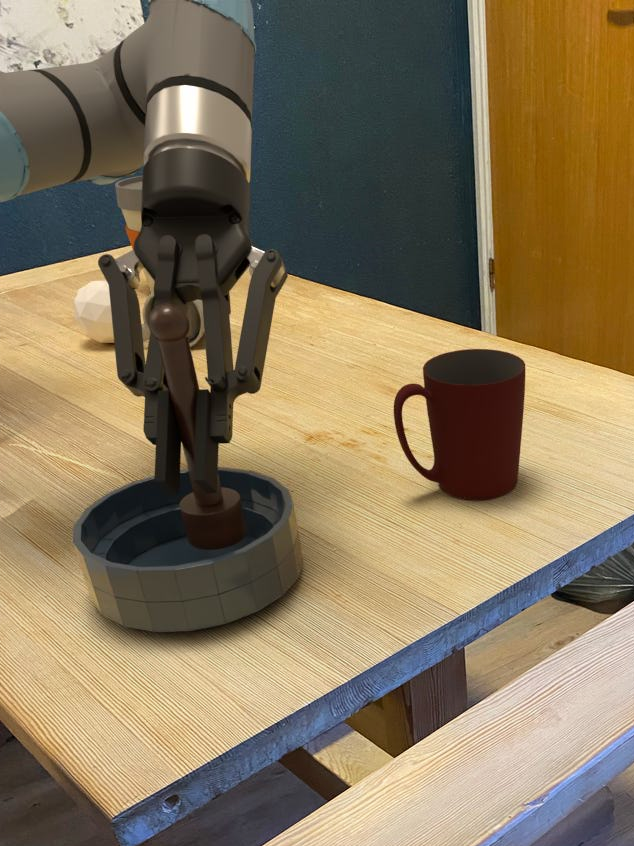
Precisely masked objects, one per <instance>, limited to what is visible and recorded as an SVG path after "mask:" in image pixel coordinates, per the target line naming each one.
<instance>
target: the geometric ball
mask: <svg viewBox="0 0 634 846" xmlns="http://www.w3.org/2000/svg"><path fill="white" fill-rule="evenodd" d="M73 301H74V302H73V310H74V322H75V323H76V324H77V326H78V327H79V328H80V329H81V331H83V333H84V334H85V335H86V337H88V338H90V339H92V340H93V341H94V340H95V341H96V342H97V343H101V344H114V334H113V324H112V314H111V303H110V293H109V285H108V283H107V281H106V280H91V281H90V282H88V283H86V284H85V285H83V286H82V287H80V288H78V290H77V293H76V295H75V298H74V300H73Z"/></svg>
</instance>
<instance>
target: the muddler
mask: <svg viewBox="0 0 634 846" xmlns="http://www.w3.org/2000/svg"><path fill="white" fill-rule="evenodd" d="M149 328H150V331H151V333H152V335H153V336H154V337H155V338H156V339H157V342H158V346H159V350H160V354H161V358H162V363H163V367H164V371H165V375H166V379H167V384H168V388H169V392H170V396H171V400H172V405H173V409H174V413H175V417H176V421H177V425H178V430H179V434H180V438H181V447H182V450H183V454H184V459H185V462H186V467H187V469H188V472H189V476H190V480H191V484H192V488H193V492H192V493H190V494H189V495H187V496H185V497H184V498H183V499H182V500H181V502H180V510H181V514H182V518H183V522H184V526H185V530H186V534H187V538H188V542H189V543H190V544H191V545H192V546H193V547H195V548H198V549H203V550H216V549H222V548H226V547H229V546H232V545H234V544H236V543H238V542H240V541H241V540H242V539H243V538H244V537H245V536H246V533H247V529H246V524H245V519H244V515H243V510H242V505H241V500H240V496H239V494H238V493H237V492H236V491H235V490H233V489H229V488H223V487H221V485H220V481H219V476H218V483H217V493H206V492H205V491H204V490H203V489H202V488H201V487H200V486H199V485H198V484H197V483H196V482H195V481H194V461H195V432H196V403H197V390H200V389H201V388H200V385H199V380H198V376H197V370H196V366H195V362H194V358H193V354H192V349H191V348H192V347H190V344H189V339H188V334H189V331H190V322H189V319H188V316H187V315H186V313H185V312H184V311H183V310H182V309H181V308H180V307H178V306H176V305H174V304H168V303H166V304H161V305H159V306H157V307H155V308H154V309H153V311H152V312H151V314H150V316H149Z"/></svg>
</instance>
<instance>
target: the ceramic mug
mask: <svg viewBox="0 0 634 846" xmlns="http://www.w3.org/2000/svg"><path fill="white" fill-rule="evenodd" d="M154 305H155V296H154V292H152V293H151V292H150V294H149V295H148V297H147V298H146V299H145V302H144V304H143V308H142V315H141V316H142V322H143V323H141V325H142V335H143V343H145V342H146V341H149V338H150V328H149V316H150V314H151V312H152V311H153V309H154ZM187 316H188V319H189V322H190V331H189V334H188V339H189V344H190V348H192V347H193V346H195V345H196V344H197V343H198V342H199V341H200V340H201V338H202V337H203V335H205V331H204V318H203V304H202V300H195V301H191V302H189V306H188V313H187Z"/></svg>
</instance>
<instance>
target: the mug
mask: <svg viewBox="0 0 634 846" xmlns="http://www.w3.org/2000/svg"><path fill="white" fill-rule="evenodd" d="M422 376H423V385H421V384H418V383H408V384H407V383H406V384H405V385H403V386H401V388H399V389H398V390H397V392H396V394H395V397H394V400H393V422H394V425H395V426H394V427H395V430H396V431H395V432H396V435H397V439H398V442H399V444H400V446H401V449H402V451H403V453H404V455H405V457H406V459H407V461H408V462H409V464H410V465H411V466H412V467H413V468H414V470H416V472H418V474H419V475H421V476H422V477H424V478H425V479H426V480H428V481H430V482H433V483H437V484H438V486H439V489H440V490H441V491H442V492H444V493H446V494H447V495H449V496H451V497H454V498H458V499H463V500H473V501H475V500H476V501H477V500H489V499H494V498H498V497H501V496H504V495H506V494H508V493H510V492H511V491H512V490H514V489H515V488H516V486H517V485H518V480H519V471H520V460H521V459H520V458H521V448H522V447H521V446H522V434H523V423H524V409H525V397H526V394H525V393H526V362H525V361H524V359H522V358H521V357H520V356H518V355H516V354H513V353H511V352H507V351H503V350H498V349H488V348H469V349H458V350H454V351H448V352H445V353H444V352H443V353H441V354H438V355H436V356H433V357H432V358H430V359H428V360H427V361H426V362H425V363H424V364H423V366H422ZM414 396H421V397H423V398H424V399H425V404H426V410H427V417H428V418H427V420H428V424H429V431H430V439H431V445H432V452H433V465H432V467H431V468H430V469H427V468H425V467H424V466H422V464H420V463H419V461H418V460H417V459H416V457H415V456H414V453H413V452H412V450H411V447H410V445H409V442H408V439H407V435H406V433H405V427H404V421H403V407H404V404H405V403H406V401H407V400H408V399H409V398H411V397H414Z"/></svg>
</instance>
